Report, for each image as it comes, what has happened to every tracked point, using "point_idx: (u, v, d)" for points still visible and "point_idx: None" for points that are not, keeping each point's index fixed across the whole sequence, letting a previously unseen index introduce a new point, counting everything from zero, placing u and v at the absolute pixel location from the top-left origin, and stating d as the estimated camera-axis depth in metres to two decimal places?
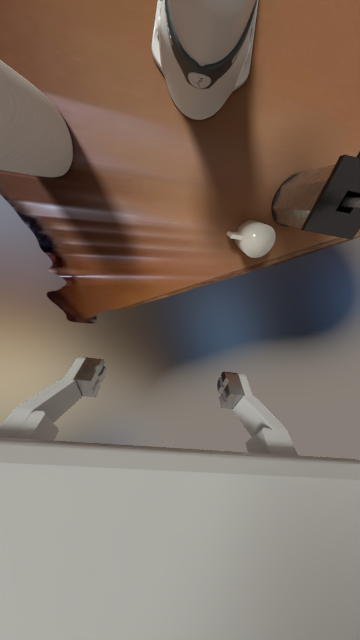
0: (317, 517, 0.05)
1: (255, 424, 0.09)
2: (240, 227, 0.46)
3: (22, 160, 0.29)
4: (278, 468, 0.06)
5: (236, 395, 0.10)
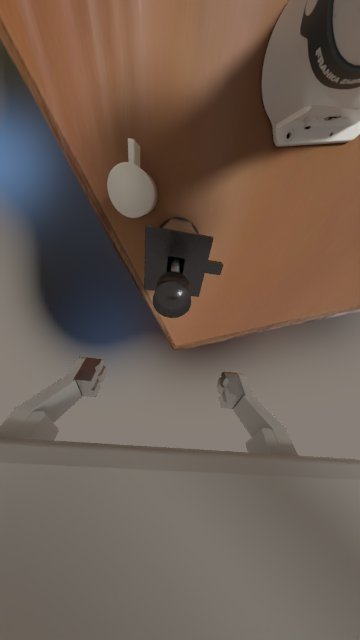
0: (317, 517, 0.05)
1: (255, 424, 0.09)
2: None
3: None
4: (278, 468, 0.06)
5: (236, 395, 0.10)
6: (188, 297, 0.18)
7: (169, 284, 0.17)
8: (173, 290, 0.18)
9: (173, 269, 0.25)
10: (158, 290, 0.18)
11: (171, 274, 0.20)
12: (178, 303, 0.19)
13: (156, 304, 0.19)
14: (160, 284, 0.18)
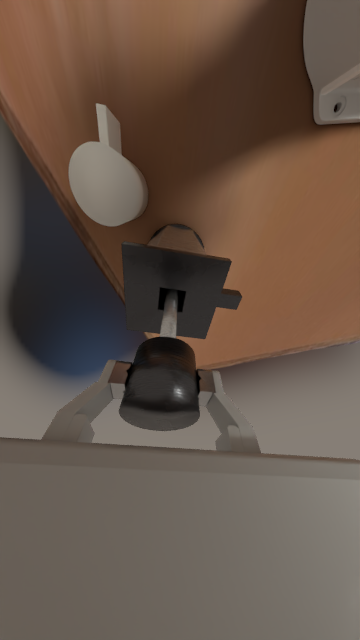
0: (317, 517, 0.05)
1: (224, 422, 0.09)
2: (132, 163, 0.24)
3: None
4: (278, 468, 0.06)
5: (207, 392, 0.09)
6: (194, 410, 0.08)
7: (152, 394, 0.08)
8: (161, 402, 0.08)
9: (167, 313, 0.16)
10: (128, 401, 0.08)
11: (160, 348, 0.10)
12: (173, 416, 0.09)
13: (128, 417, 0.09)
14: (135, 381, 0.09)
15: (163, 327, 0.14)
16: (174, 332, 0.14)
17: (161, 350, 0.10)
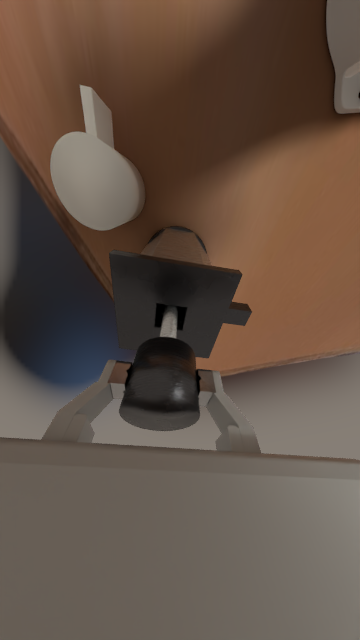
0: (317, 517, 0.05)
1: (224, 422, 0.09)
2: None
3: None
4: (278, 468, 0.06)
5: (207, 392, 0.09)
6: (195, 410, 0.08)
7: (152, 394, 0.08)
8: (161, 402, 0.08)
9: (167, 313, 0.16)
10: (129, 401, 0.08)
11: (160, 348, 0.10)
12: (173, 416, 0.09)
13: (128, 417, 0.09)
14: (135, 381, 0.09)
15: (164, 327, 0.14)
16: (174, 332, 0.14)
17: (161, 350, 0.10)
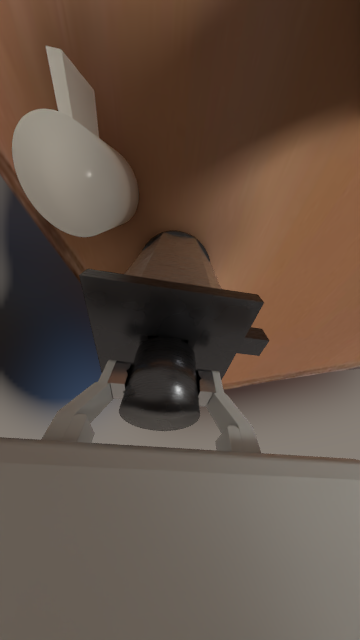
0: (317, 517, 0.05)
1: (224, 422, 0.09)
2: (115, 150, 0.17)
3: None
4: (278, 468, 0.06)
5: (207, 392, 0.09)
6: (194, 410, 0.08)
7: (152, 394, 0.08)
8: (161, 402, 0.08)
9: None
10: (129, 401, 0.08)
11: (160, 348, 0.10)
12: (173, 416, 0.09)
13: (128, 417, 0.09)
14: (135, 380, 0.09)
15: None
16: None
17: (161, 350, 0.10)
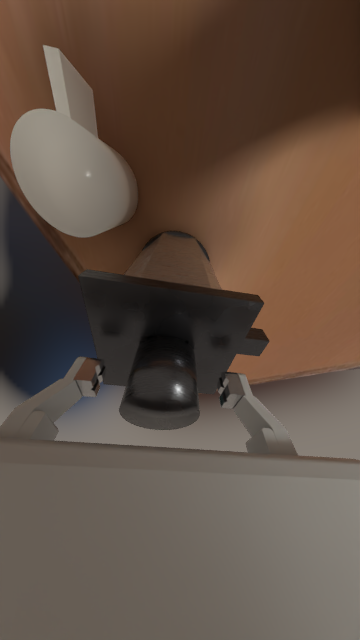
0: (317, 517, 0.05)
1: (255, 424, 0.09)
2: (114, 150, 0.17)
3: None
4: (278, 468, 0.06)
5: (236, 395, 0.10)
6: (194, 409, 0.08)
7: (152, 392, 0.08)
8: (161, 401, 0.08)
9: None
10: (129, 400, 0.08)
11: (160, 347, 0.10)
12: (173, 415, 0.09)
13: (128, 416, 0.09)
14: (135, 380, 0.09)
15: None
16: None
17: (161, 349, 0.10)
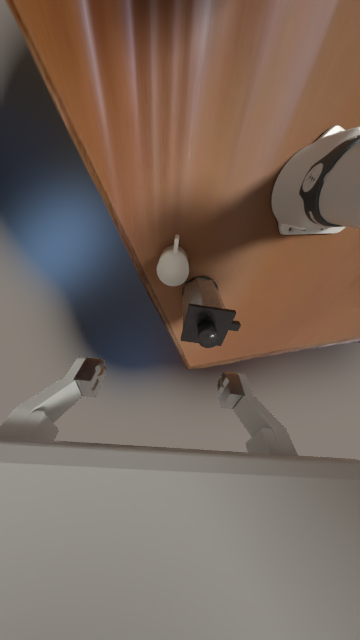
0: (317, 516, 0.05)
1: (255, 424, 0.09)
2: (182, 249, 0.44)
3: None
4: (278, 468, 0.06)
5: (236, 395, 0.10)
6: (218, 338, 0.35)
7: (209, 333, 0.34)
8: (210, 335, 0.34)
9: None
10: (203, 335, 0.34)
11: (207, 324, 0.36)
12: (212, 341, 0.35)
13: (200, 341, 0.35)
14: (203, 331, 0.35)
15: None
16: None
17: (208, 325, 0.36)
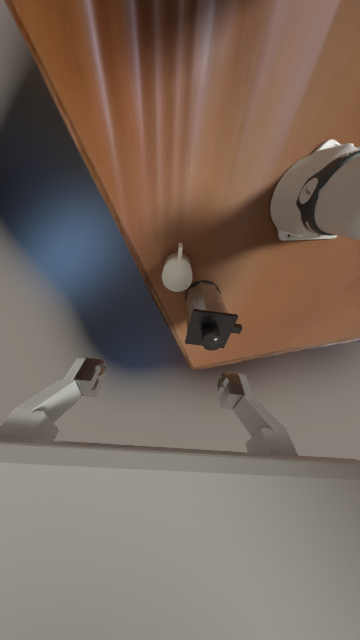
0: (317, 517, 0.05)
1: (255, 424, 0.09)
2: (185, 256, 0.46)
3: None
4: (278, 468, 0.06)
5: (236, 395, 0.10)
6: (221, 342, 0.37)
7: (212, 336, 0.36)
8: (214, 339, 0.36)
9: None
10: (207, 339, 0.36)
11: (211, 328, 0.38)
12: (215, 344, 0.37)
13: (204, 344, 0.37)
14: (207, 335, 0.37)
15: None
16: None
17: (211, 329, 0.38)
